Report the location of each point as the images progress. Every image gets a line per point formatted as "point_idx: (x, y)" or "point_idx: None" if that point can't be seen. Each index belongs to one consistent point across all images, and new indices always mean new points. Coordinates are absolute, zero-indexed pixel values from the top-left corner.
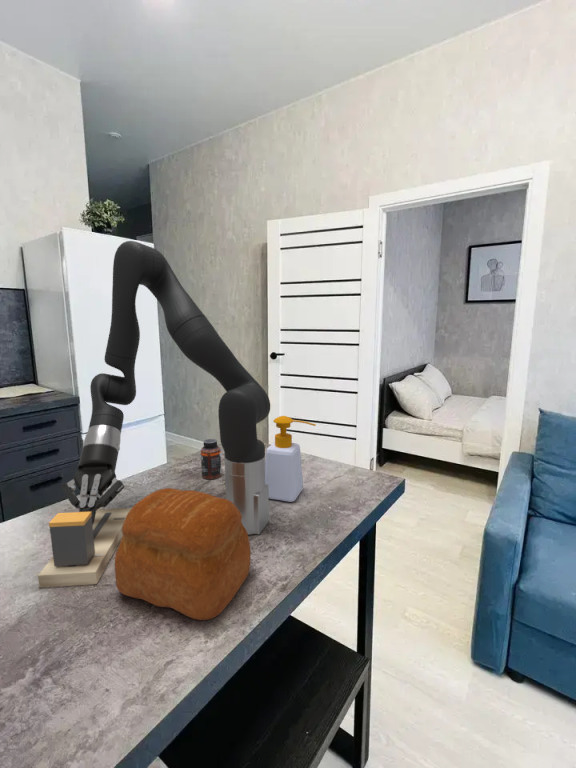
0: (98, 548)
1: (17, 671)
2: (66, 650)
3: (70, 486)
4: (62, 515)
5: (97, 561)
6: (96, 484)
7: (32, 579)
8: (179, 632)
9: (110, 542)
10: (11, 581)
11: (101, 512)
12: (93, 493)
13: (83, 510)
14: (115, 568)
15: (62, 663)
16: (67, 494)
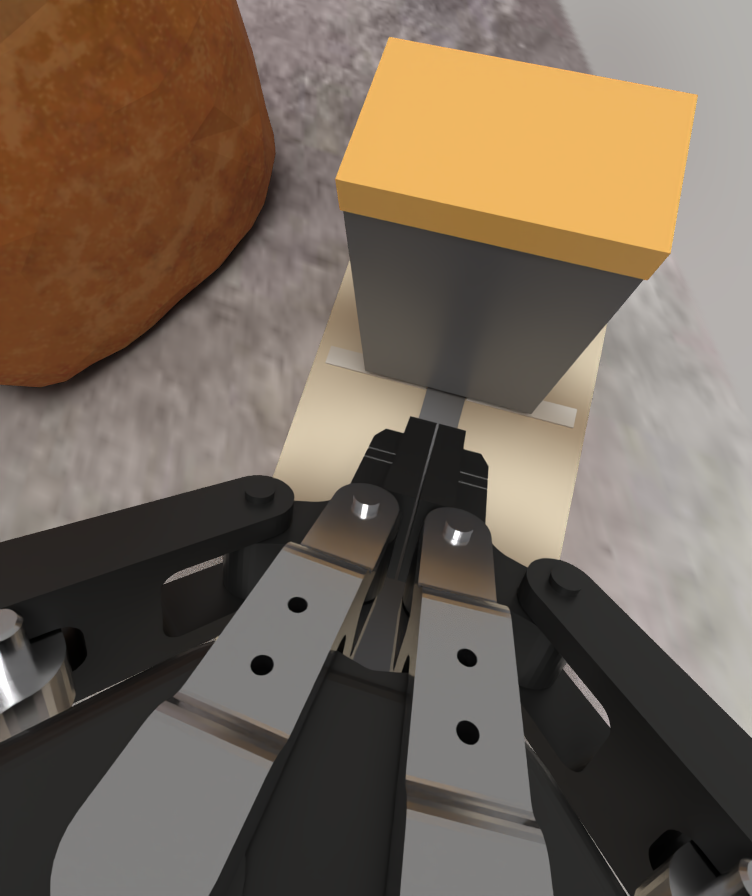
0: (352, 428)
1: (539, 12)
2: (426, 35)
3: (748, 868)
4: (608, 194)
5: (352, 314)
6: (245, 674)
7: (636, 403)
8: None
9: (289, 468)
10: (728, 422)
11: None
12: (323, 559)
13: (443, 493)
14: (247, 42)
15: (429, 2)
16: (709, 713)
